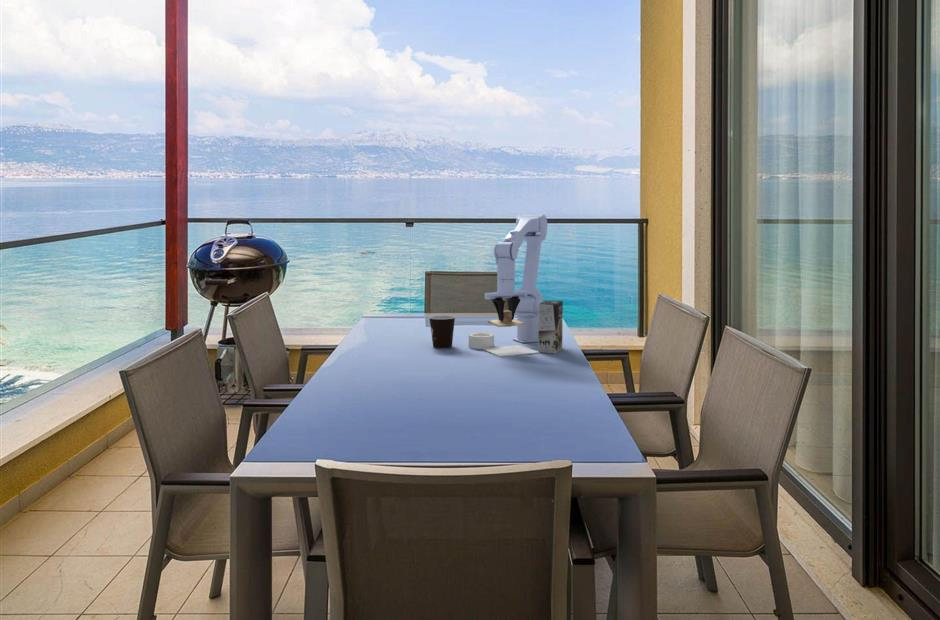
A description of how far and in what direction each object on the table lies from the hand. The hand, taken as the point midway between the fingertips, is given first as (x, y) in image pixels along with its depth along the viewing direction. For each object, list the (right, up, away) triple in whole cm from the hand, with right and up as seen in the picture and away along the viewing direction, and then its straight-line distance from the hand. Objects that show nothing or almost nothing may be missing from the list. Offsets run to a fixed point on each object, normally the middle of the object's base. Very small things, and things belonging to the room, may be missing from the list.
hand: (506, 320), depth 279 cm
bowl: (-8, -9, +9) cm, 15 cm away
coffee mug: (-21, -9, +11) cm, 25 cm away
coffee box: (+15, -10, +1) cm, 18 cm away
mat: (+1, -10, 0) cm, 10 cm away
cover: (0, -1, 0) cm, 1 cm away
